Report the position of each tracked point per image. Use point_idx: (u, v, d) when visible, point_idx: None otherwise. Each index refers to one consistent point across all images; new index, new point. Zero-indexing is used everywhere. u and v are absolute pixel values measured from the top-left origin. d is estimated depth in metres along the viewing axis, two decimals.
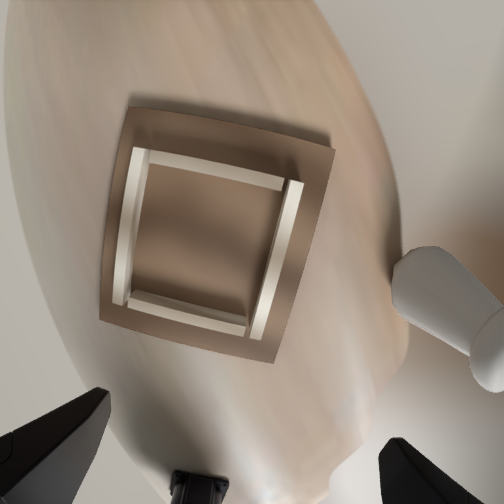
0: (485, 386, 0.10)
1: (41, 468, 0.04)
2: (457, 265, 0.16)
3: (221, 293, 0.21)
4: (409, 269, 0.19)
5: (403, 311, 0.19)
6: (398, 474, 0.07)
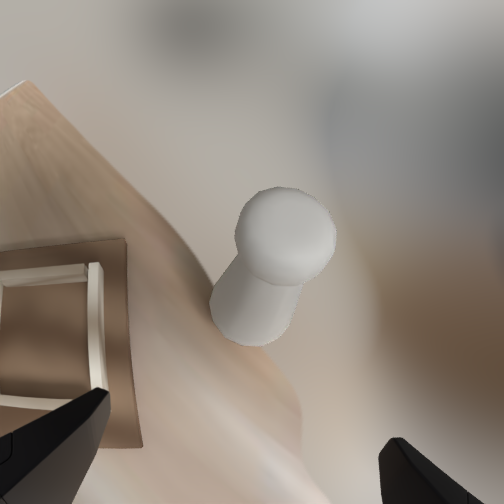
0: (273, 266, 0.12)
1: (40, 468, 0.04)
2: None
3: (66, 382, 0.18)
4: (213, 291, 0.21)
5: (228, 329, 0.19)
6: (398, 474, 0.07)
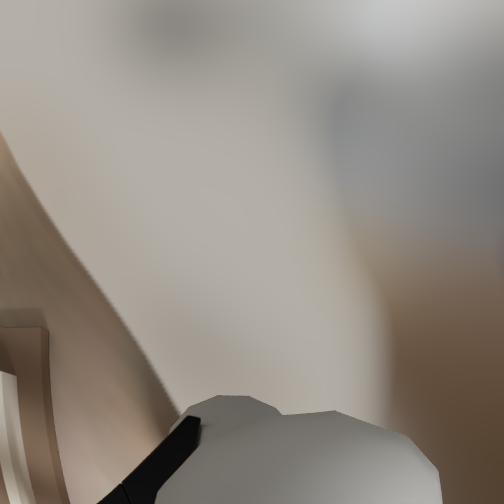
0: None
1: None
2: (222, 407, 0.10)
3: None
4: None
5: None
6: None
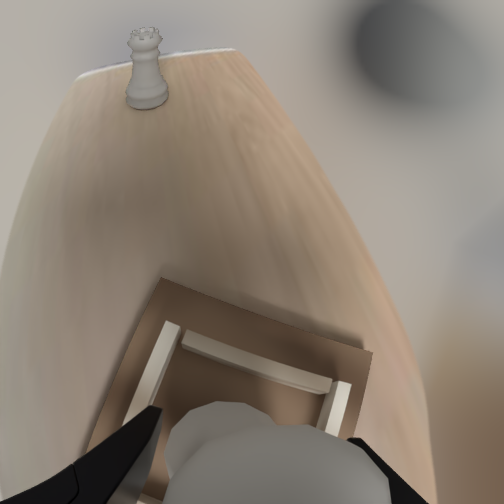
0: None
1: (108, 499, 0.04)
2: (220, 412, 0.11)
3: None
4: (168, 445, 0.11)
5: None
6: None
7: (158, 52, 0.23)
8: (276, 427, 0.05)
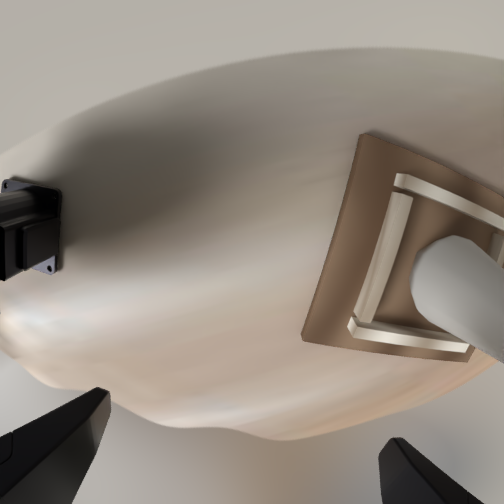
0: None
1: (41, 468, 0.04)
2: None
3: (390, 289, 0.20)
4: (469, 242, 0.15)
5: (438, 263, 0.15)
6: (398, 474, 0.07)
7: None
8: None
